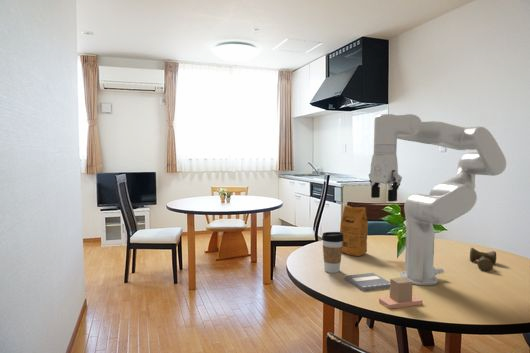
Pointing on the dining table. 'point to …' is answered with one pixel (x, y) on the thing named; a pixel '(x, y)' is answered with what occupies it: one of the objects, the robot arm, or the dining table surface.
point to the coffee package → (354, 231)
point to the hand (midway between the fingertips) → (383, 199)
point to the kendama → (483, 259)
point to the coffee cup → (332, 251)
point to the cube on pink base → (400, 294)
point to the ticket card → (368, 281)
